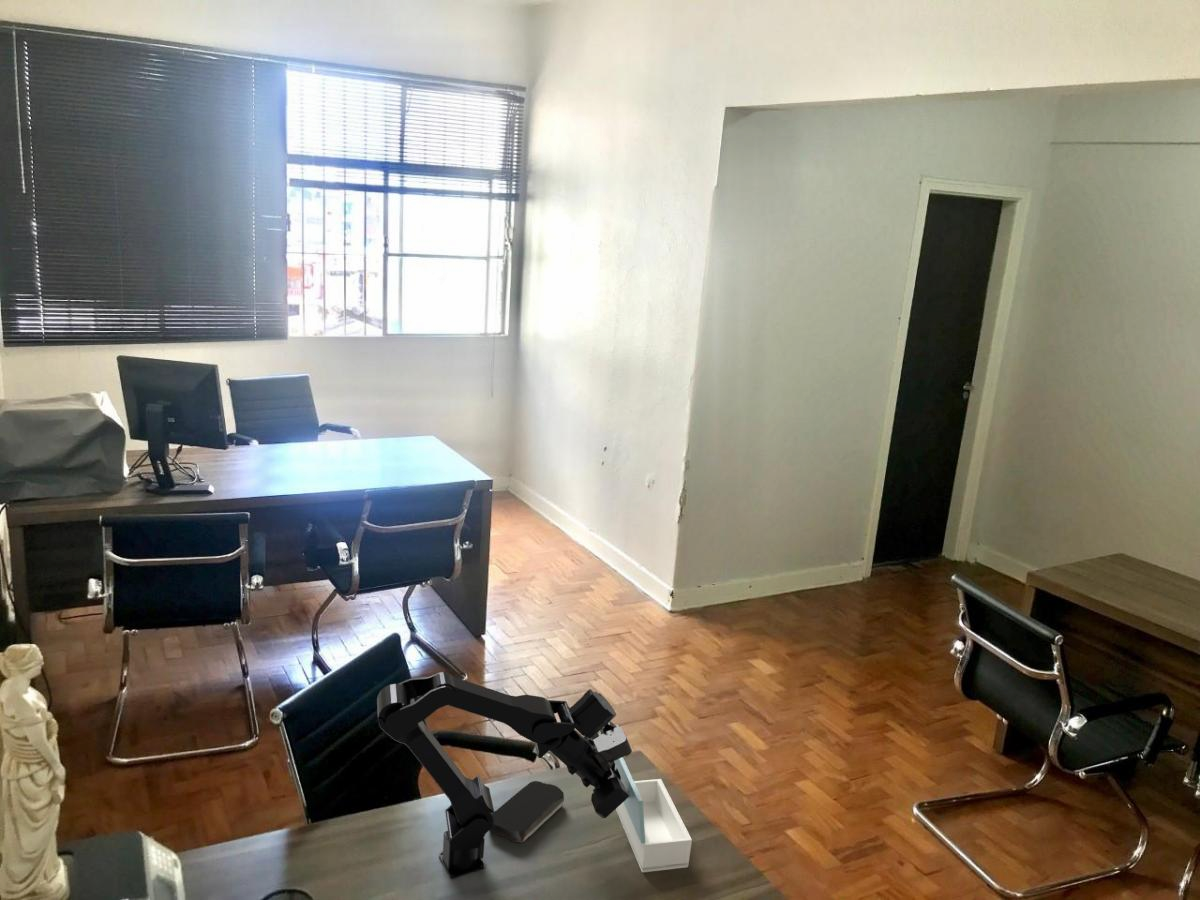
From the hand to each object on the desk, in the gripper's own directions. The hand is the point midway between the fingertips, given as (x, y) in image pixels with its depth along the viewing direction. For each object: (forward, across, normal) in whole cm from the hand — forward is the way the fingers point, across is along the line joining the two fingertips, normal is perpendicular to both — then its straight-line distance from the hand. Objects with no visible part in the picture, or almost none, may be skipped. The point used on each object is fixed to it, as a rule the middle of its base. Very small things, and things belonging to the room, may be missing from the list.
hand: (627, 796), depth 166 cm
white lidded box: (+12, +1, +3) cm, 13 cm away
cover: (+1, +1, -1) cm, 2 cm away
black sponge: (-4, +10, +20) cm, 23 cm away
